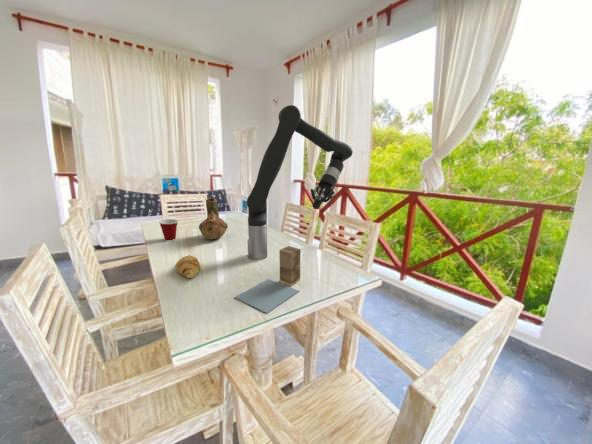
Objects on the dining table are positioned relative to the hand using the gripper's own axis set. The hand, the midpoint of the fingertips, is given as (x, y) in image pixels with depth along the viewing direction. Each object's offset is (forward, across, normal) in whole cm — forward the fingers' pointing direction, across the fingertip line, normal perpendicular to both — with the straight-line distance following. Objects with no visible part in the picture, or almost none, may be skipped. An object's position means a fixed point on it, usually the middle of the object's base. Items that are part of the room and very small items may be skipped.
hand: (315, 208), depth 114 cm
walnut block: (+33, +1, +6) cm, 34 cm away
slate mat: (+43, +1, -4) cm, 43 cm away
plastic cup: (+35, -92, +5) cm, 98 cm away
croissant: (+48, -42, -8) cm, 64 cm away
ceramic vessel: (+22, -72, +17) cm, 77 cm away
